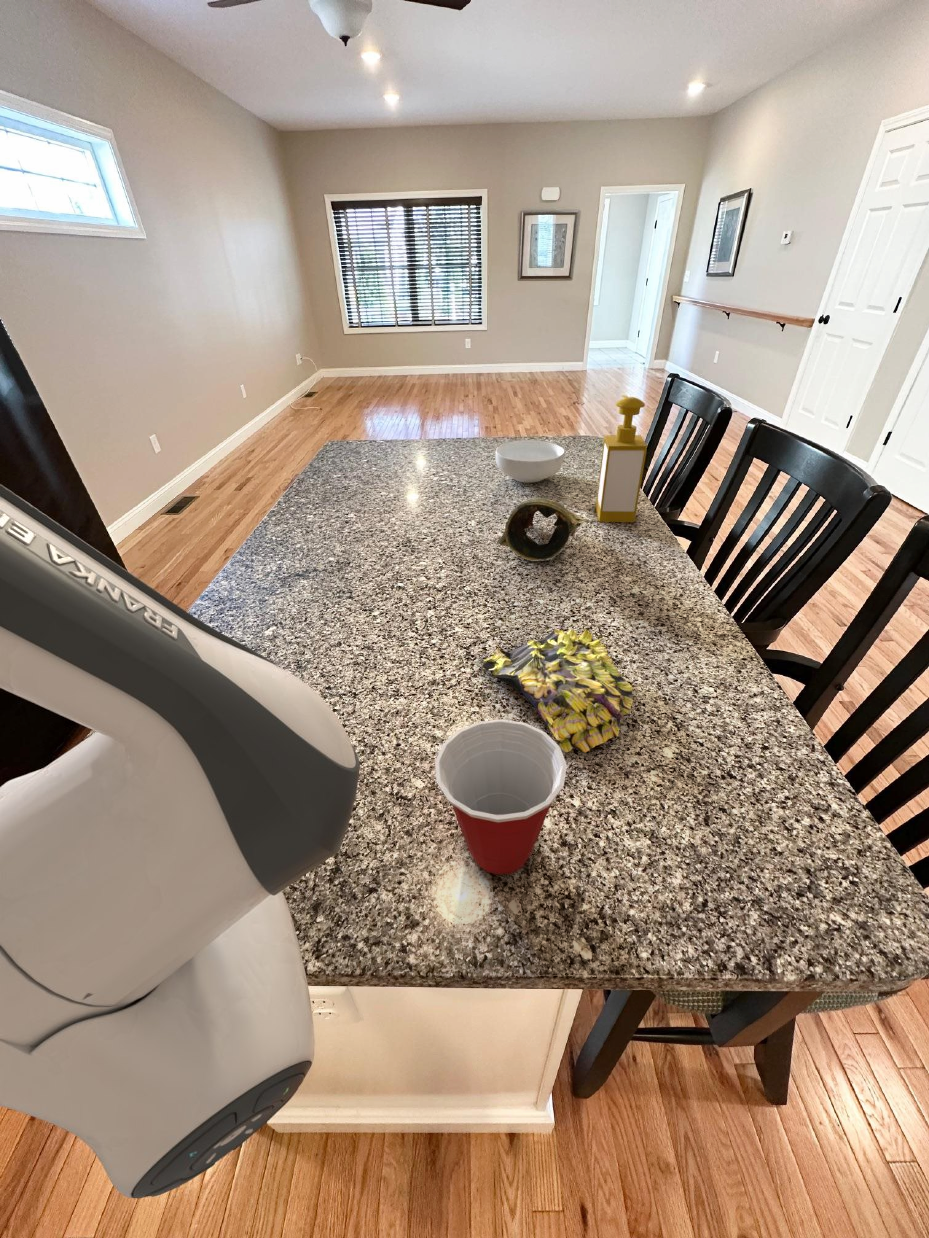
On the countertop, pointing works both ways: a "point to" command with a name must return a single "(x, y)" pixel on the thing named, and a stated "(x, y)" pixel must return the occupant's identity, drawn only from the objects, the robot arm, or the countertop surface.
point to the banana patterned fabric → (568, 686)
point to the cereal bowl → (529, 460)
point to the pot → (524, 519)
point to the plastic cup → (500, 788)
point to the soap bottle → (621, 467)
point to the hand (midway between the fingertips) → (161, 703)
